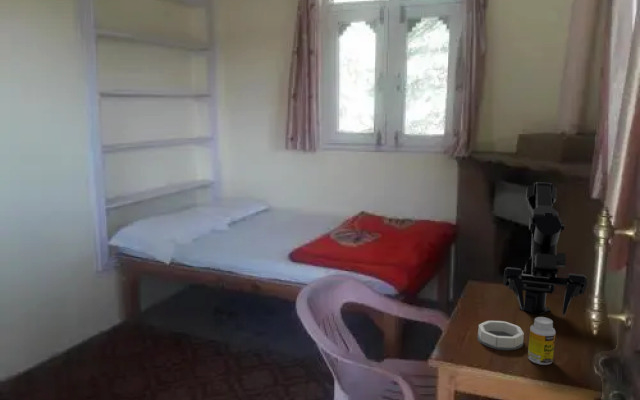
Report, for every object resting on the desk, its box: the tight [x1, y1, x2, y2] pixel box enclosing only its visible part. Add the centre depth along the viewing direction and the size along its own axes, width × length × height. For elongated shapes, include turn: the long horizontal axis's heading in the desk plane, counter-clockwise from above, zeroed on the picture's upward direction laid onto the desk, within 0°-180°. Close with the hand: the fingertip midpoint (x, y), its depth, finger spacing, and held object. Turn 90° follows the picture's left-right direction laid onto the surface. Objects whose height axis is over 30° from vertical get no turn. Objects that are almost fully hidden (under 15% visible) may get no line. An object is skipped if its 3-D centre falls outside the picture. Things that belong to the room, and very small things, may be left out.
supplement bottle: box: [527, 316, 557, 366], centre depth 126 cm, size 6×6×10 cm
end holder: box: [477, 320, 525, 352], centre depth 137 cm, size 11×11×3 cm
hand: (543, 312), depth 128 cm, fingers open, 9 cm apart
